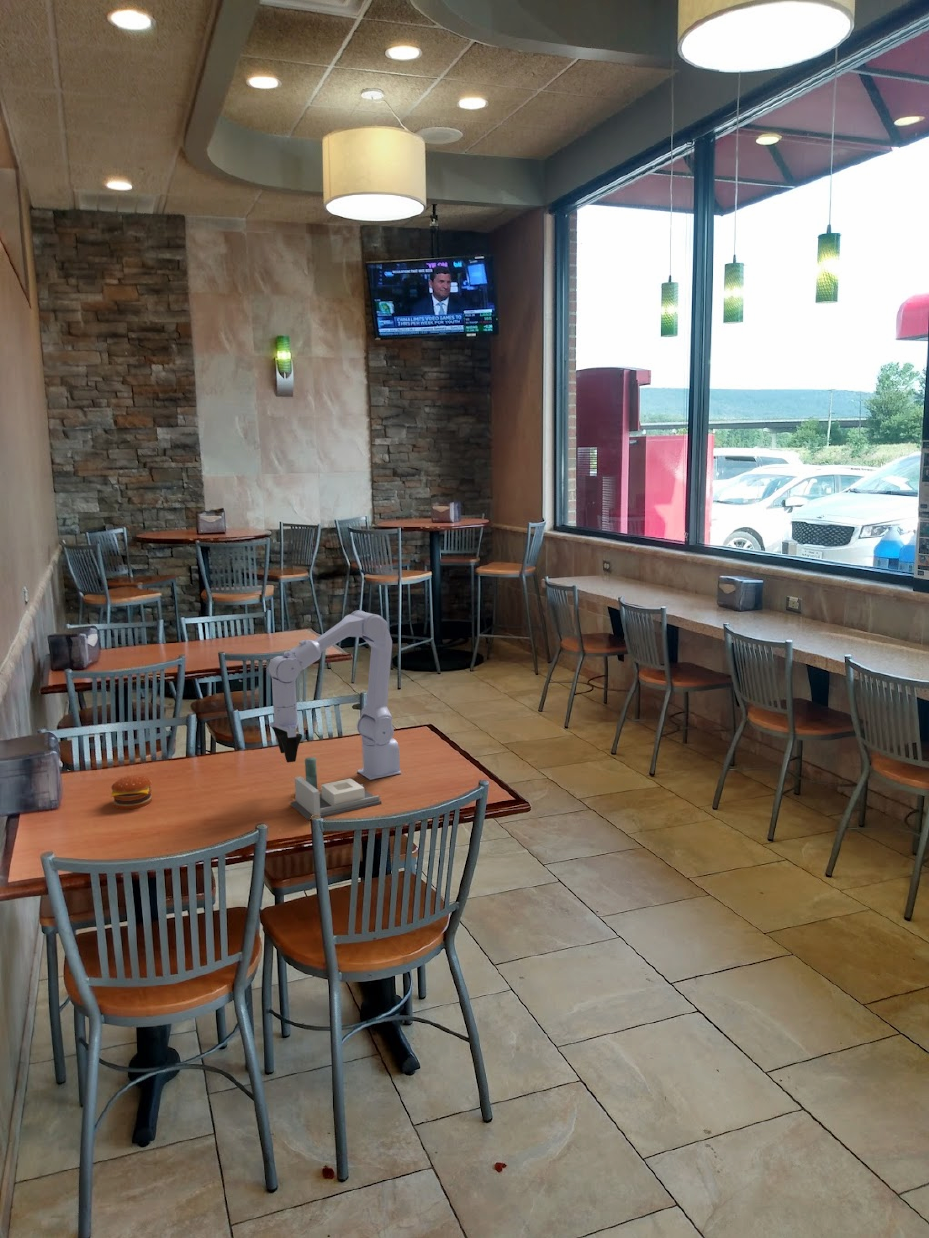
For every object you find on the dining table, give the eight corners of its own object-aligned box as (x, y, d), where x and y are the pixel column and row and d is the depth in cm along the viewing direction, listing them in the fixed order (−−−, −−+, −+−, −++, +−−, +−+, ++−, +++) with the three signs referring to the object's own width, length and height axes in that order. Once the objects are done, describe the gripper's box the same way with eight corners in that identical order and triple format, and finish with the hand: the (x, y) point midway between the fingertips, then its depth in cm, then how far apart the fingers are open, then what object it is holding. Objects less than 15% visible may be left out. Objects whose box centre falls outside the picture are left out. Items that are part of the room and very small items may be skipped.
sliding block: (351, 791, 232) (350, 778, 231) (364, 801, 225) (364, 787, 224) (321, 797, 228) (321, 784, 227) (334, 808, 221) (334, 794, 220)
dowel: (314, 786, 238) (313, 756, 236) (319, 789, 235) (317, 759, 234) (304, 788, 236) (303, 758, 235) (308, 791, 234) (307, 761, 232)
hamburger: (152, 807, 225) (149, 781, 224) (110, 812, 223) (108, 786, 222) (154, 793, 234) (152, 769, 233) (115, 798, 232) (112, 773, 231)
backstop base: (360, 788, 235) (359, 764, 234) (381, 803, 225) (380, 777, 224) (290, 804, 226) (288, 778, 224) (308, 820, 215) (307, 793, 214)
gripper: (263, 699, 233) (266, 750, 235) (274, 714, 220) (277, 768, 222) (291, 696, 235) (294, 746, 238) (303, 710, 222) (306, 764, 225)
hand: (288, 756), depth 230 cm, fingers open, 7 cm apart
